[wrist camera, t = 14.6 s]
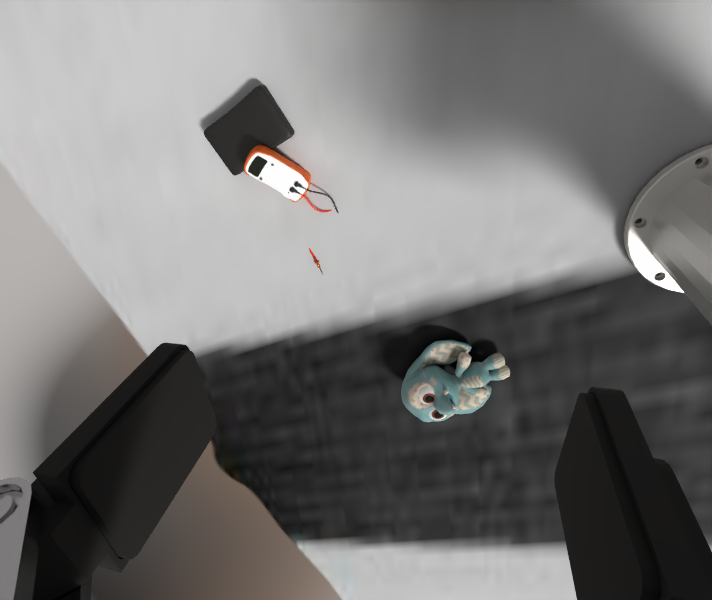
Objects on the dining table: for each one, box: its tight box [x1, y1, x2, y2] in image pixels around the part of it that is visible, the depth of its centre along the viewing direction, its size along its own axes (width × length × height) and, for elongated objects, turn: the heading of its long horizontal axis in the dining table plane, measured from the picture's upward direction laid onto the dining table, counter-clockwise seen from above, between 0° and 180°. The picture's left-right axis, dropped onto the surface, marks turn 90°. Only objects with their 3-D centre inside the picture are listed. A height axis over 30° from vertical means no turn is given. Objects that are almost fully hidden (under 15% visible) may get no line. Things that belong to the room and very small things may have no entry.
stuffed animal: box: [401, 340, 510, 422], centre depth 45 cm, size 11×7×12 cm
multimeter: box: [204, 86, 338, 274], centre depth 39 cm, size 18×12×3 cm, turn 28°
